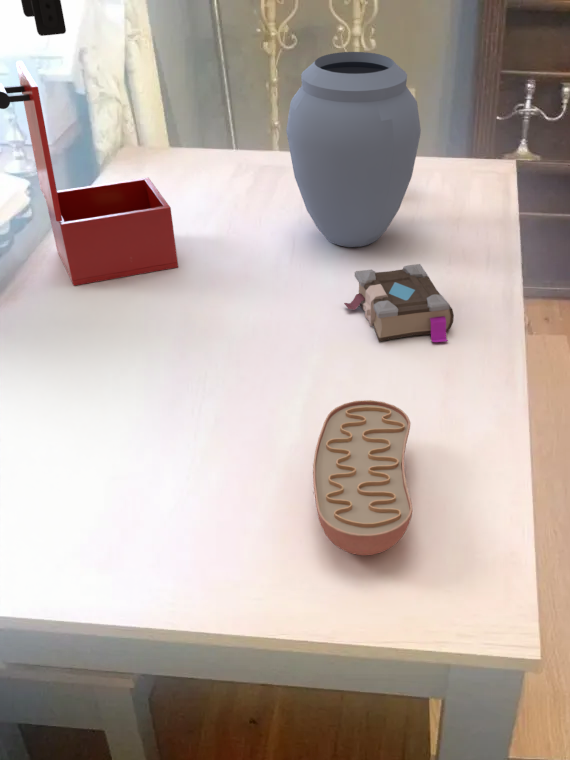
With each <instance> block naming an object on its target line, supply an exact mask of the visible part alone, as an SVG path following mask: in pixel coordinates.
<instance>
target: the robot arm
mask: <svg viewBox="0 0 570 760" xmlns="http://www.w3.org/2000/svg"><path fill="white" fill-rule="evenodd" d="M20 2H21V6H22V11H23V14H24V16H25V17H27V18H31V17H33V18H34V22H35V23H34V24H35V27H36V33H37V34H38V36H41V37H45V36H54V35H55V36H56V35H64V34H66V32H67V28H66V21H65V18H64V12H63V7H62V2H61V0H20Z"/></svg>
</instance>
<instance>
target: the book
mask: <svg viewBox="0 0 570 760" xmlns="http://www.w3.org/2000/svg"><path fill="white" fill-rule="evenodd" d="M354 279H356V281H357V283H358V293H357V294H355V296H354V297H353V299H352V300H351V301H350V302H343V305H344V306H345V307H346V308H347V309H348V310H353V311H354V310H356V309H358V308H359V307H360V308H361V309H362V311H363V312H364V318H366V320H367V321H368V323H369V326H370V328H371V327H373V329H374V332H375V335H376V338H377V341H378V342H379V343H380V342H384V341H389V340H395V339H400V338H405V337H407V338H408V337H410V336H411V337H413V336H423V335H424V336H425V335H430V340H431V342H432V343H443V342H449V340H448V339H447V334H448V332H449V331H450V330H451V328H452V325H453V323H454V319H455V318H454V317H455V314H454V311H453V308H452V306H451V305H450V303H449V302H448V301H447V299H445V298H444V296H443V295H442V294H441V293H440V292H439V291H438V289H437V288H436V286H435V285H434V283H433V282H432V280H431V278H430V276H429V275H428V273H427V272H426V271H425V269H424V267H423V265H422V264H421V263H417V264H416V263H415V264H408V265H404V266H402V268H401V269H396V270H395V269H394V270H388V271H378V272H376V271H375V270H373V269H362V270H356V271H354Z"/></svg>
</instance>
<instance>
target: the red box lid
mask: <svg viewBox="0 0 570 760" xmlns="http://www.w3.org/2000/svg"><path fill="white" fill-rule="evenodd" d="M15 65H16V70H17V74H18V75H17V76H18V80H19V84H18V85H6V86H4V85H3V84H2V83H1V82H0V110H6V109H7V108H9V107H10V104H11V103H19V102H23V105H24V111H25V115H26V120H27V127H28V132H29V137H30V142H31V148H32V151H33V157H34V162H35V167H36V168H35V169H36V172H37V178H38V183H39V188H40V191H41V193H42V195H43V197H44V199H45V202H46V201H47V203H48V205H49V207H50V209H51V211H52V213H53V215H54V217H55V219H56V221H62V217H61V211H60V206H59V200H58V195H57V191H58V190H57V185H56V184H57V183H56V179H55V173H54V167H53V162H52V157H51V152H50V145H49V141H48V135H47V130H46V124H45V119H44V118H45V117H44V112H43V106H42V101H41V97H40V91H39V87H38V85H37V83H36V81H35V80H34V79H33V77H32V76H31V75H32V74H31V73H30V72H29V71H28V69H27V67H26V65H25V64H24V62H23V60H17V61H15ZM47 203H46V204H47Z"/></svg>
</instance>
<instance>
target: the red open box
mask: <svg viewBox="0 0 570 760" xmlns="http://www.w3.org/2000/svg"><path fill="white" fill-rule="evenodd" d="M57 195H58V200H59V206H60V211H61V217H62V221H56V219H55V217H54V215H53V213H52V211H51V209H50V207H49V205H48V203H47V201H46V200H45V203H46V206H47V212H48V216H49V220H50V224H51V229H52V234H53V238H54V243H55V247H56V251H57V254H58V255H59V258H60V260H61V262H62V265H63V266H64V268H65V270H66V272H67V276H68V277H69V279H70V281H71V284H72V285H73V286H74V287H75V286H80V285H86V284H91V283H97V282H102V281H103V282H104V281H109V280H114V279H119V278H125V277H131V276H138V275H142V274H148V273H149V274H150V273H154V272H160V271H164V270H172V269H176V268H177V269H178V268H179V263H178V262H179V261H178V254H177V247H176V246H177V245H176V238H175V231H174V224H173V216H172V208H171V206H170V205H169V203H168V202H167V200H166V199H165V198H164V196H163V195H162V193H161V192H160V191H159V189H158V188H157V187H156V186H155V184H154V183H153V181H152V180H151V178H150V177H148V176H147V177H141V178H135V179H134V178H133V179H127V180H120V181H113V182H108V183H107V182H106V183H100V184H93V185H87V186H79V187H74V188H73V187H72V188H66V189H59V190H57Z"/></svg>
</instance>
